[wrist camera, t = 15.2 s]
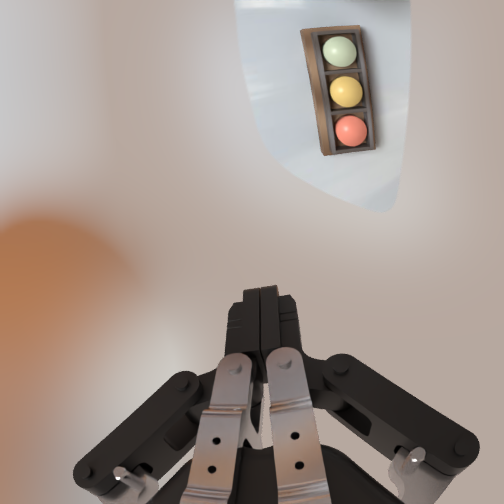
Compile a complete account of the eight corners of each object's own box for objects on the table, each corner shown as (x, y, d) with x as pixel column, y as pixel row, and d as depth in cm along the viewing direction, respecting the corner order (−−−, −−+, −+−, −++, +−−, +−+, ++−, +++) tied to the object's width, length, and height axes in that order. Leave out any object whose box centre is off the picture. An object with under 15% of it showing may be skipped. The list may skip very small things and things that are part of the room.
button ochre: (326, 77, 30) (329, 78, 29) (355, 74, 30) (360, 75, 28) (330, 106, 32) (333, 108, 31) (359, 103, 32) (364, 105, 30)
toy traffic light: (300, 30, 29) (304, 27, 26) (354, 26, 28) (364, 24, 25) (320, 151, 37) (326, 160, 34) (370, 144, 37) (380, 153, 34)
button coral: (332, 115, 33) (335, 118, 31) (361, 112, 32) (365, 115, 31) (335, 144, 35) (339, 148, 33) (363, 140, 34) (368, 144, 33)
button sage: (318, 38, 28) (321, 37, 26) (349, 36, 27) (353, 35, 26) (324, 67, 30) (327, 68, 28) (354, 65, 29) (358, 65, 28)
